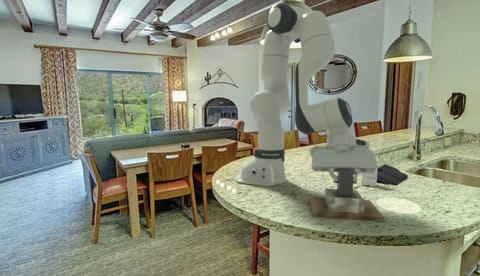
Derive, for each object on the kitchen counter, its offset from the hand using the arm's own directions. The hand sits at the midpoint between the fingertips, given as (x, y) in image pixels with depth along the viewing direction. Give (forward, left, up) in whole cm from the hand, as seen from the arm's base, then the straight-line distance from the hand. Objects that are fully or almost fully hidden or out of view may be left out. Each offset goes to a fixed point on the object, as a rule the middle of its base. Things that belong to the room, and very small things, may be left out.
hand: (345, 182), depth 86 cm
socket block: (0, +1, -9) cm, 9 cm away
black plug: (0, +1, -4) cm, 4 cm away
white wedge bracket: (+16, +30, -10) cm, 35 cm away
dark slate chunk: (+26, +43, -10) cm, 51 cm away
